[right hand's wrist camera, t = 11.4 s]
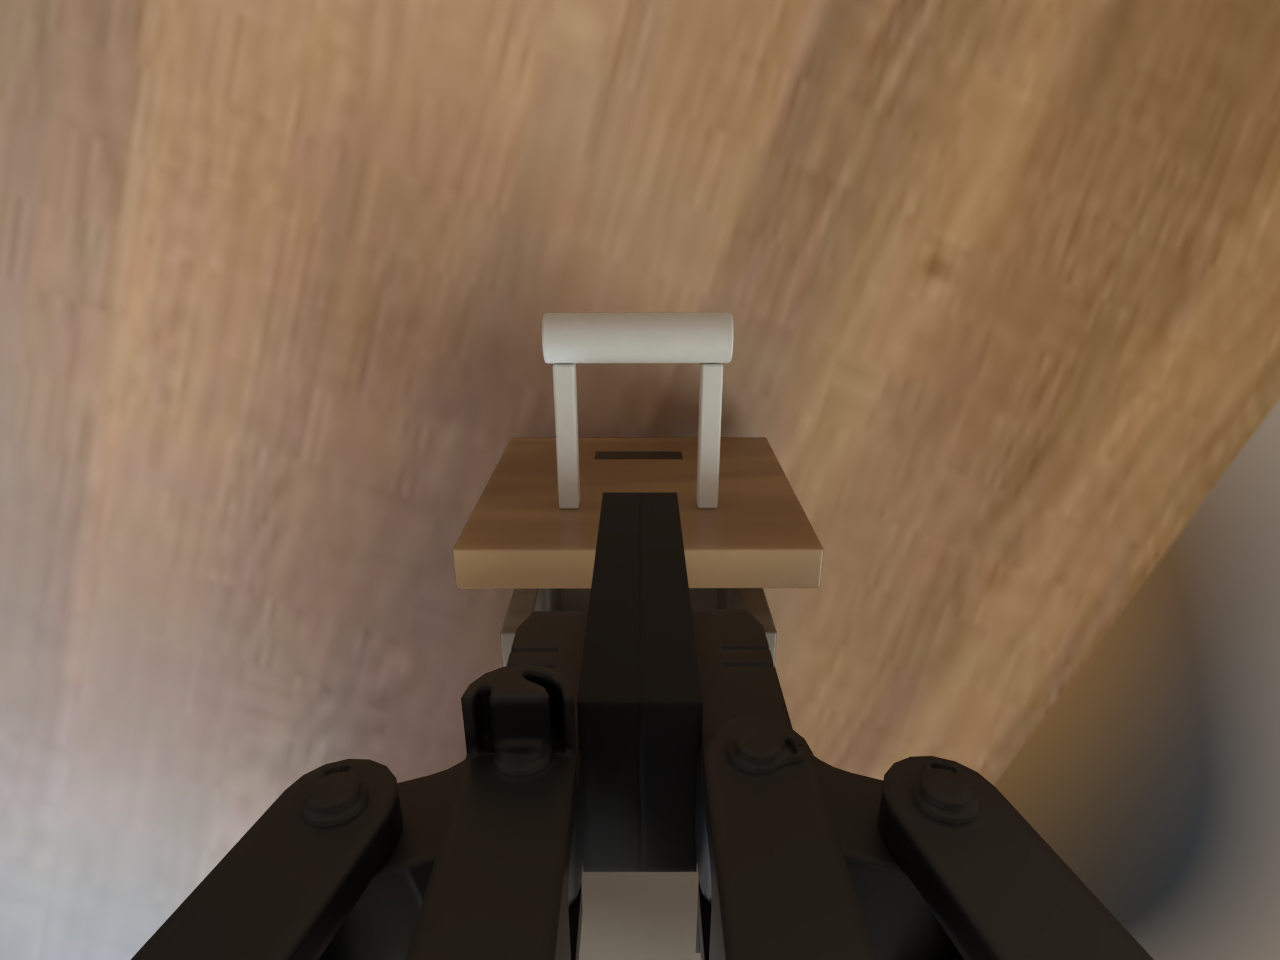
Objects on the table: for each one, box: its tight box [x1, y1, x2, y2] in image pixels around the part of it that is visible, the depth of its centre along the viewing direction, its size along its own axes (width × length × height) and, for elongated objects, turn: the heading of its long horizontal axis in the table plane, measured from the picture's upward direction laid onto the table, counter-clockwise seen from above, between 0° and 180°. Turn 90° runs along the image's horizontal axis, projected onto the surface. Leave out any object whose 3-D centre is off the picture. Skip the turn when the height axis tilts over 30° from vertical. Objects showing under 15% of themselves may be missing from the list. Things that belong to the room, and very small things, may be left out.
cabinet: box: [579, 866, 701, 960], centre depth 30 cm, size 17×11×12 cm, turn 0°
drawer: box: [453, 313, 824, 667], centre depth 25 cm, size 21×10×10 cm, turn 0°
